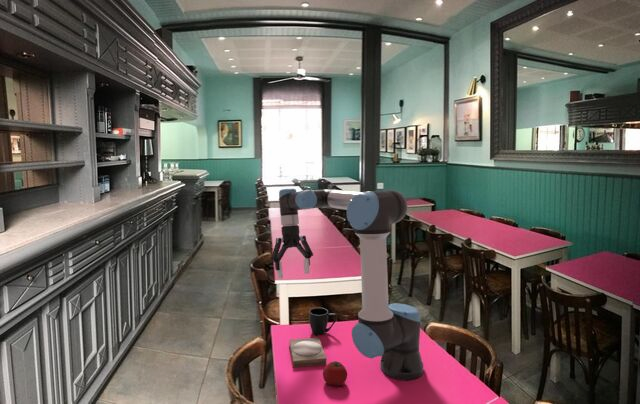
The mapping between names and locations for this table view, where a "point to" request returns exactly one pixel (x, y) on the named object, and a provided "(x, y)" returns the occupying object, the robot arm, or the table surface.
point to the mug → (320, 320)
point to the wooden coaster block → (307, 352)
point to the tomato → (335, 373)
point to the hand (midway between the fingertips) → (293, 275)
